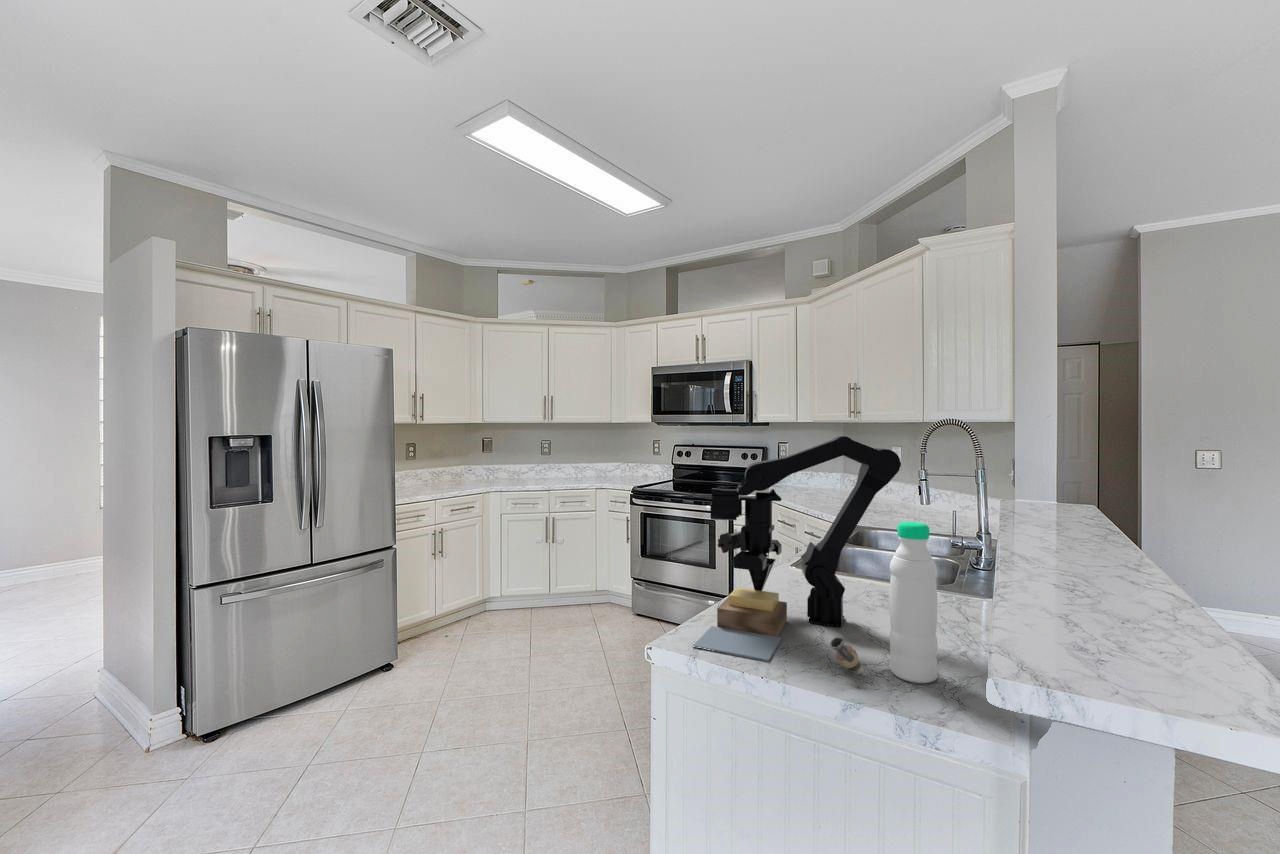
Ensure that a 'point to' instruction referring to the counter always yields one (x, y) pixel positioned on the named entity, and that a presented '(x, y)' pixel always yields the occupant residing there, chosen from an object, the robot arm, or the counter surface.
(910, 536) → the water bottle
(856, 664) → the vase
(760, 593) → the pale yellow rectangular block
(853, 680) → the counter surface
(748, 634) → the mat
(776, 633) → the brown box
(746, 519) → the robot arm
